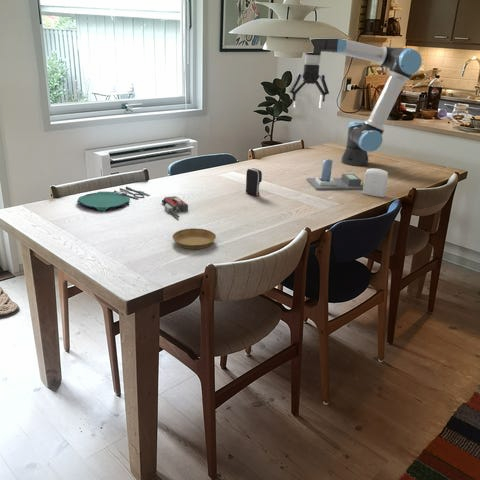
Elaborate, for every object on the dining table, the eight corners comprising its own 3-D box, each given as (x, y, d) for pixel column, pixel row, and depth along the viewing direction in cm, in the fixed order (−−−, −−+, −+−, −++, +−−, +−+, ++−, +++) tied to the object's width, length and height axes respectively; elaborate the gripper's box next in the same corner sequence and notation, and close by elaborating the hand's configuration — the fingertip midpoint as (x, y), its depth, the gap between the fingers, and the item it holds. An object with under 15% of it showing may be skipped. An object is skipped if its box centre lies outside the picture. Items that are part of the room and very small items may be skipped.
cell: (328, 181, 242) (331, 157, 237) (331, 183, 238) (334, 160, 233) (319, 181, 241) (322, 157, 237) (322, 183, 237) (325, 160, 233)
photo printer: (361, 194, 229) (365, 168, 224) (363, 191, 233) (367, 166, 228) (383, 198, 225) (388, 171, 220) (385, 195, 228) (390, 169, 224)
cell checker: (351, 179, 250) (353, 172, 248) (364, 189, 236) (365, 181, 234) (306, 180, 246) (307, 172, 244) (316, 190, 231) (317, 181, 230)
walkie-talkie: (156, 204, 204) (175, 220, 188) (156, 194, 202) (175, 209, 187) (176, 201, 208) (196, 217, 192) (176, 191, 207) (196, 206, 191)
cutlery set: (68, 203, 199) (67, 198, 198) (124, 188, 222) (124, 183, 221) (100, 216, 189) (100, 210, 188) (156, 199, 211) (156, 194, 211)
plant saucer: (186, 255, 160) (186, 248, 159) (164, 240, 171) (164, 233, 170) (224, 246, 168) (224, 239, 167) (201, 232, 179) (201, 225, 178)
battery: (261, 195, 220) (263, 170, 216) (255, 196, 218) (257, 171, 213) (251, 191, 225) (252, 166, 221) (245, 192, 223) (246, 167, 218)
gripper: (333, 64, 251) (328, 107, 259) (285, 62, 247) (282, 106, 255) (338, 65, 244) (333, 109, 253) (289, 63, 240) (285, 108, 248)
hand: (307, 107), depth 254 cm, fingers open, 13 cm apart
